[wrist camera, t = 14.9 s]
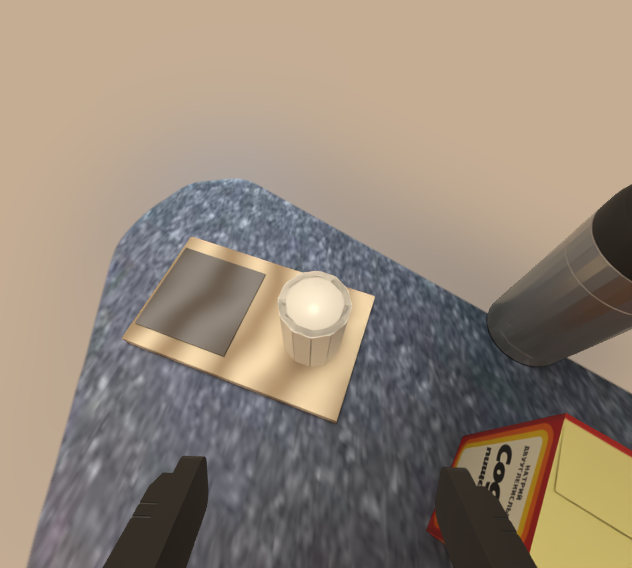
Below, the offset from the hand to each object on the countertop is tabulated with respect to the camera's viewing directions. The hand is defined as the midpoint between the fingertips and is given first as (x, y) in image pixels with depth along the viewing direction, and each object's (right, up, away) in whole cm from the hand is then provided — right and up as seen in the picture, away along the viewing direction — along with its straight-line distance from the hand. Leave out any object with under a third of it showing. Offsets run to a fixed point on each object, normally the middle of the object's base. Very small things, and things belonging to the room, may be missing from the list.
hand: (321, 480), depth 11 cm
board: (-7, +2, +29) cm, 30 cm away
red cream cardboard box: (+15, -14, +21) cm, 29 cm away
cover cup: (-1, +1, +26) cm, 26 cm away
